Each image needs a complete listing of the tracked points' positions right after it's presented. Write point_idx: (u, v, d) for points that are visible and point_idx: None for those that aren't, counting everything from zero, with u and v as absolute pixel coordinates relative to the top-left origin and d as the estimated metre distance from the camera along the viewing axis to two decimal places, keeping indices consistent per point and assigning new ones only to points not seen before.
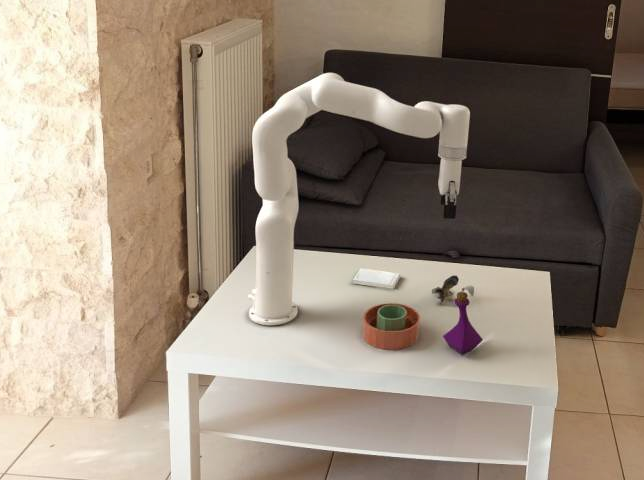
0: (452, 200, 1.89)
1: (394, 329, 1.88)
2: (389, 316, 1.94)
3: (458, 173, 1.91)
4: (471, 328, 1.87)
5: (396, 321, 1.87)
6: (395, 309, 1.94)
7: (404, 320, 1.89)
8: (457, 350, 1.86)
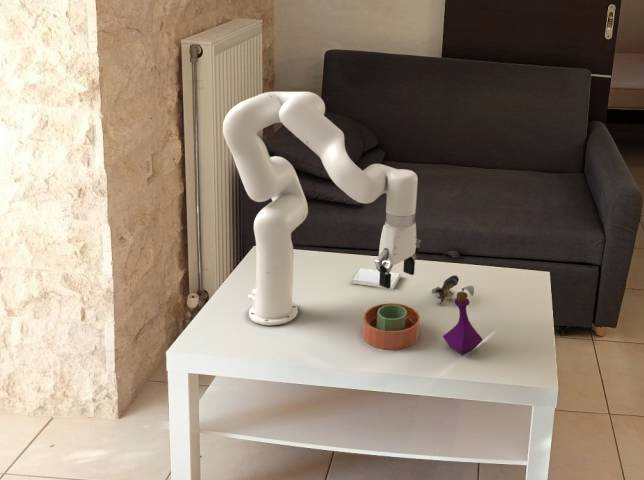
0: (379, 268, 1.81)
1: (394, 329, 1.88)
2: (389, 316, 1.94)
3: (392, 242, 1.82)
4: (471, 328, 1.87)
5: (396, 321, 1.87)
6: (395, 309, 1.94)
7: (404, 320, 1.89)
8: (457, 350, 1.86)
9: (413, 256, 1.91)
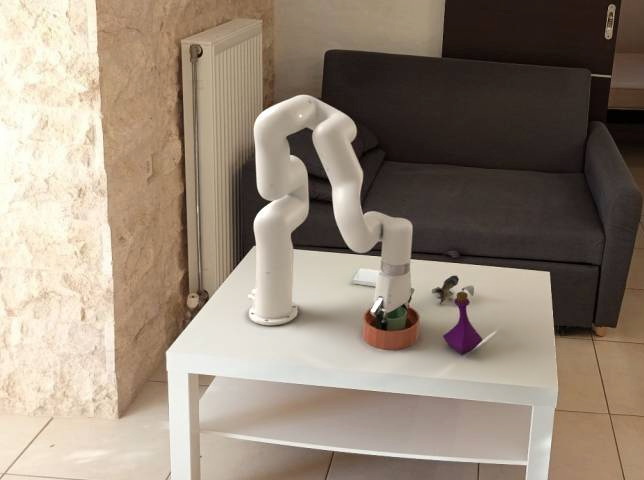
0: (375, 317, 1.84)
1: (394, 329, 1.88)
2: (389, 316, 1.94)
3: (387, 290, 1.84)
4: (471, 328, 1.87)
5: (396, 321, 1.87)
6: (395, 309, 1.94)
7: (404, 320, 1.89)
8: (457, 350, 1.86)
9: (406, 304, 1.93)
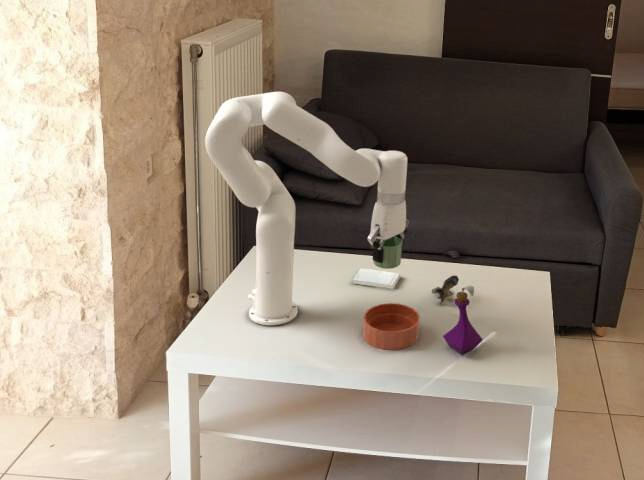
0: (372, 244, 1.94)
1: (390, 256, 1.98)
2: None
3: (383, 218, 1.94)
4: (471, 328, 1.87)
5: (392, 249, 1.97)
6: (391, 240, 2.04)
7: (400, 249, 1.99)
8: (457, 350, 1.86)
9: (402, 235, 2.03)
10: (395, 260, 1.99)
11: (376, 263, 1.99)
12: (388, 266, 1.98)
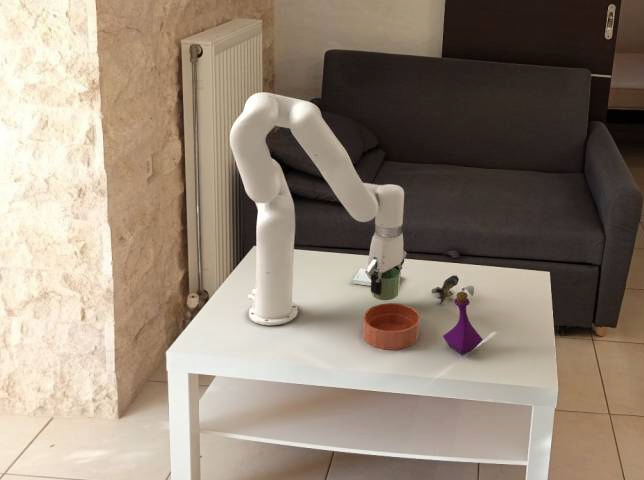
0: (370, 276, 1.97)
1: (388, 288, 2.01)
2: (383, 277, 2.08)
3: (380, 251, 1.97)
4: (471, 328, 1.87)
5: (389, 281, 2.00)
6: (389, 271, 2.07)
7: (397, 280, 2.03)
8: (457, 350, 1.86)
9: (399, 266, 2.06)
10: (393, 292, 2.02)
11: (374, 295, 2.02)
12: (386, 298, 2.01)
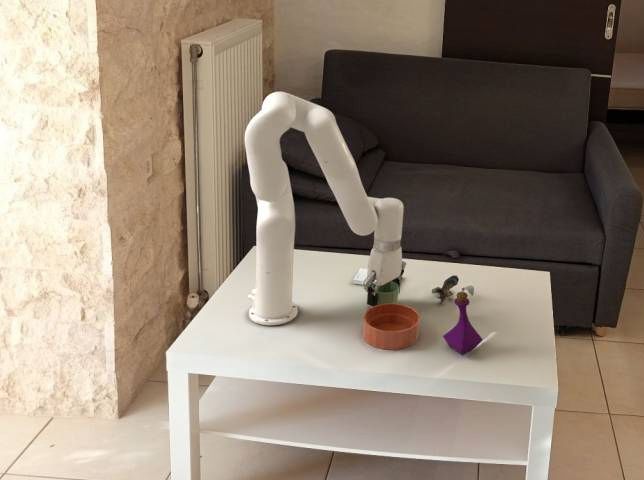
0: (366, 289, 1.97)
1: (387, 302, 2.02)
2: (382, 291, 2.08)
3: (379, 265, 1.98)
4: (471, 328, 1.87)
5: (388, 295, 2.01)
6: (388, 284, 2.08)
7: (396, 294, 2.03)
8: (457, 350, 1.86)
9: (399, 277, 2.07)
10: None
11: None
12: None
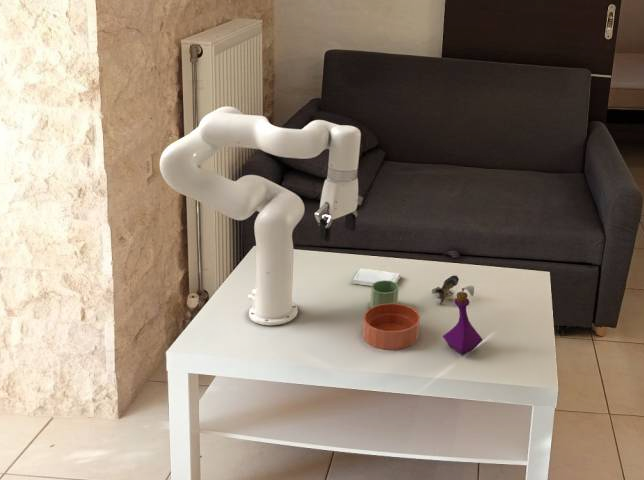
0: (319, 221, 1.84)
1: (387, 302, 2.02)
2: (382, 291, 2.08)
3: (333, 196, 1.84)
4: (471, 328, 1.87)
5: (388, 295, 2.01)
6: (388, 284, 2.08)
7: (396, 294, 2.03)
8: (457, 350, 1.86)
9: (354, 212, 1.94)
10: None
11: None
12: None
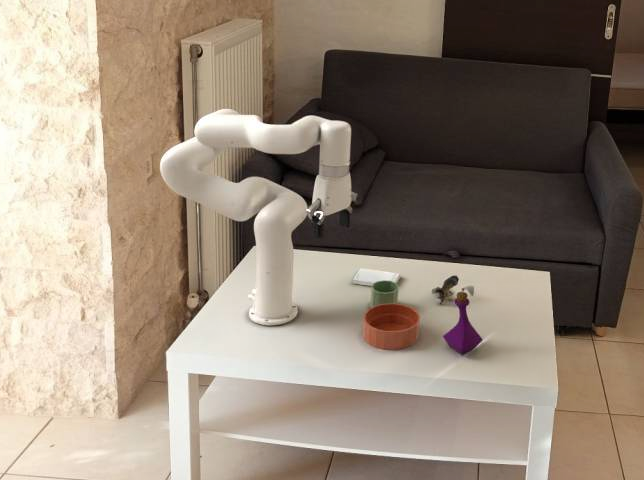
0: (311, 218, 1.82)
1: (387, 302, 2.02)
2: (382, 291, 2.08)
3: (324, 192, 1.82)
4: (471, 328, 1.87)
5: (388, 295, 2.01)
6: (388, 284, 2.08)
7: (396, 294, 2.03)
8: (457, 350, 1.86)
9: (348, 209, 1.92)
10: None
11: None
12: None
